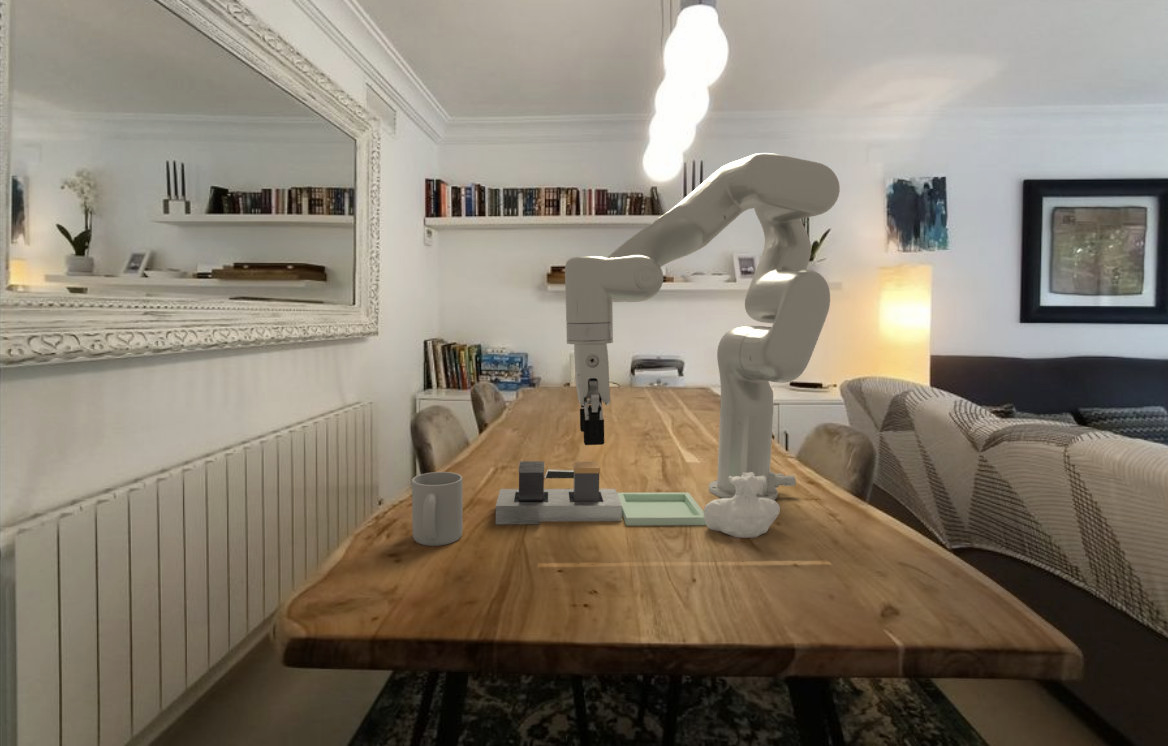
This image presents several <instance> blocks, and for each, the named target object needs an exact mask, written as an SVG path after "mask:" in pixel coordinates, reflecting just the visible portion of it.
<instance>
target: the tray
mask: <svg viewBox="0 0 1168 746" xmlns="http://www.w3.org/2000/svg"><path fill="white" fill-rule="evenodd" d="M617 494H618V497H619V499H620V502H621V505H622V518H623V521H624V523H625V526H707V525H706V523H705V519H704V509H702V508H701V507H700V505H699V504H698V502H697V501H696V500H695V499H694V498H693V497H692V495H691V493H690V492H678V491H677V492H673V491H672V492H668V491H667V492H617Z"/></svg>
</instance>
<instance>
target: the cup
mask: <svg viewBox="0 0 1168 746" xmlns="http://www.w3.org/2000/svg"><path fill="white" fill-rule="evenodd" d="M463 493H464V492H463V475H461V474H459V473H457V472H450V471H433V472H426V473H422V474H418V475H415V476H414V477H413V478H412V479H411V500H412V501H411V507H412V508H411V509H412V510H411V515H412V537H413V540H414V541H415V542H416V543H418V544H420V545H423V546H426V547H427V546H429V547H430V546H431V547H439V546H445V545H449V544H453V543H455V542H457V541H459V540H460V539H461V537H462V535H463V527H464V525H463V523H464V522H463V518H464V517H463V516H464V515H463V514H464V511H463V506H464V505H463Z"/></svg>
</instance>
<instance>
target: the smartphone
mask: <svg viewBox="0 0 1168 746" xmlns="http://www.w3.org/2000/svg"><path fill="white" fill-rule="evenodd" d="M544 479H574V469H552V468H551V469H547V470H546V472H545V474H544Z"/></svg>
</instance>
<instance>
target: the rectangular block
mask: <svg viewBox="0 0 1168 746" xmlns="http://www.w3.org/2000/svg"><path fill="white" fill-rule="evenodd" d="M573 470H574V478H573V486H572V487H573V488H572V489H573V502H599V489H600V473H601V472H600V471H601V467H600V464H599V461H573Z"/></svg>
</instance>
